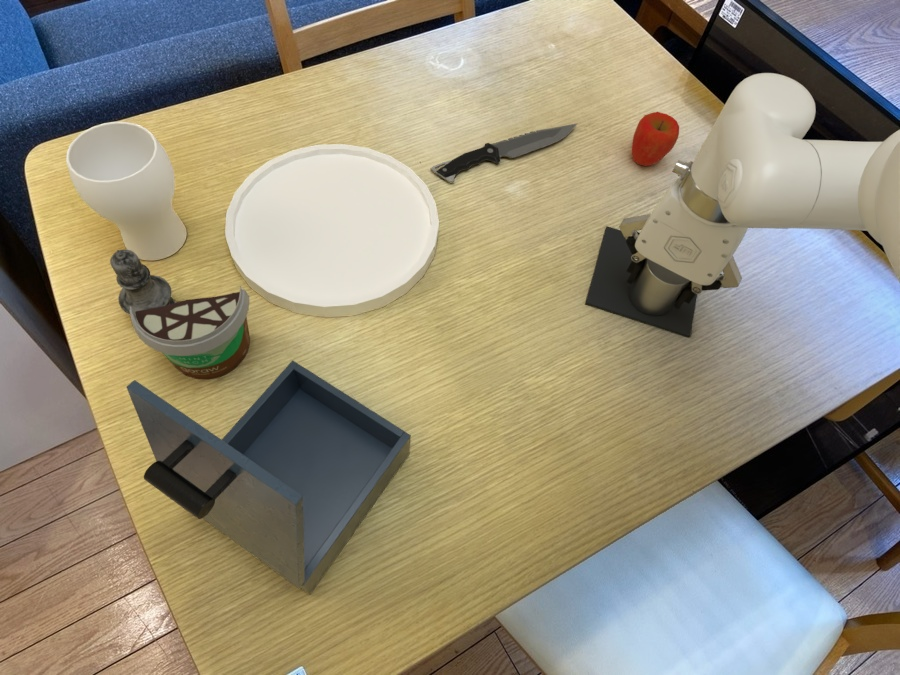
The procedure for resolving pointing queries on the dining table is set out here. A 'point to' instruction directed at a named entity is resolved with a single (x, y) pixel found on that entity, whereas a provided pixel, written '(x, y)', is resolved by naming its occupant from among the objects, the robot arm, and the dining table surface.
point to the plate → (332, 230)
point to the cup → (128, 186)
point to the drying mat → (614, 290)
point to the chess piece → (139, 283)
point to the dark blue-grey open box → (321, 457)
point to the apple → (654, 138)
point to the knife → (502, 150)
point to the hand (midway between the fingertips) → (656, 287)
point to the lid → (222, 486)
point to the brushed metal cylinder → (656, 288)
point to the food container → (198, 333)
